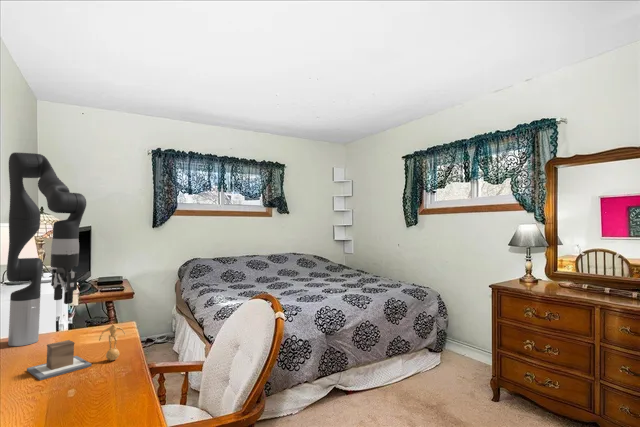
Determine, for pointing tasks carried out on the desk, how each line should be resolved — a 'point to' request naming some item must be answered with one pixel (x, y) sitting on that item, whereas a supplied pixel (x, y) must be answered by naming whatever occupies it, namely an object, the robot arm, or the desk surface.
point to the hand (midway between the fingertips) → (63, 301)
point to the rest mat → (45, 372)
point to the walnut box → (60, 354)
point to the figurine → (114, 352)
